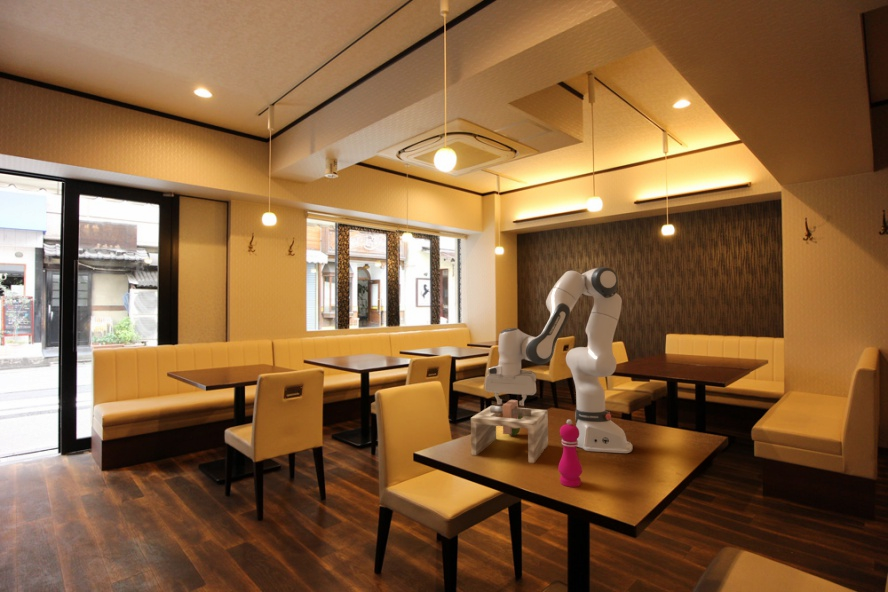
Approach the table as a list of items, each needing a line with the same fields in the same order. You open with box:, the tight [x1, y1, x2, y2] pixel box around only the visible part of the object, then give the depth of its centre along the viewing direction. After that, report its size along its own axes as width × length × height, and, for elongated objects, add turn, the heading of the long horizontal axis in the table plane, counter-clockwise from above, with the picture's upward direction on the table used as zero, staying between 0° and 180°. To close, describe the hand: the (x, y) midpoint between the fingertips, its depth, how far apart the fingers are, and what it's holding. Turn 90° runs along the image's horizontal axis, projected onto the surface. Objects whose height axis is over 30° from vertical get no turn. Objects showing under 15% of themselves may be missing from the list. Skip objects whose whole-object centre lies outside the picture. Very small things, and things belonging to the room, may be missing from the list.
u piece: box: [502, 399, 519, 436], centre depth 179 cm, size 3×10×11 cm, turn 155°
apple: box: [508, 415, 524, 437], centre depth 199 cm, size 9×8×12 cm
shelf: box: [470, 405, 549, 464], centre depth 179 cm, size 24×24×16 cm
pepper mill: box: [557, 419, 583, 488], centre depth 144 cm, size 7×7×20 cm
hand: (510, 404), depth 179 cm, fingers open, 8 cm apart
